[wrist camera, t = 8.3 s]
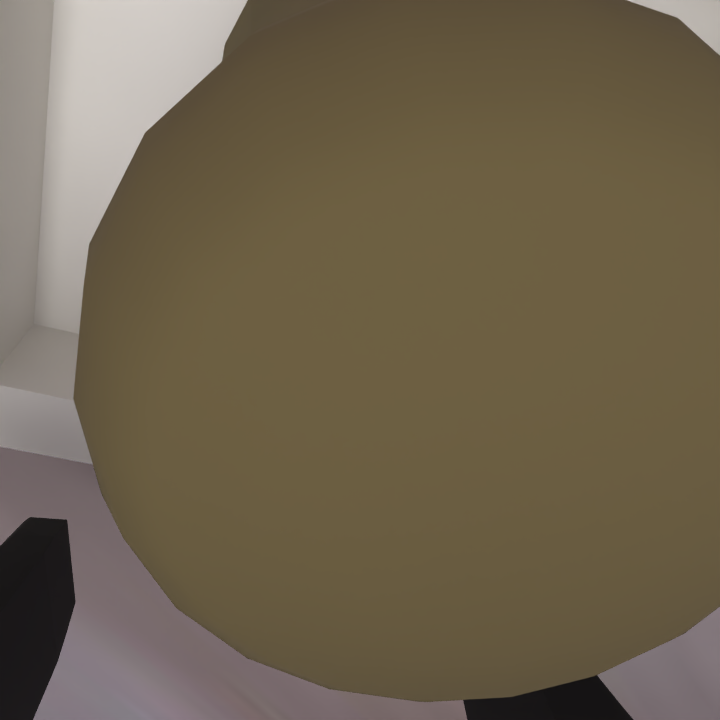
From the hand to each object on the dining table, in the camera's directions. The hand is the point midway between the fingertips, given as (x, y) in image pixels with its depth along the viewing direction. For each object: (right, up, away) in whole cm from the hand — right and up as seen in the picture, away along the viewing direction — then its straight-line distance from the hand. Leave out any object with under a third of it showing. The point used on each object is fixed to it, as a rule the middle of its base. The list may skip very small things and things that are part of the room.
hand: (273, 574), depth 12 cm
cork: (+2, +9, +1) cm, 9 cm away
